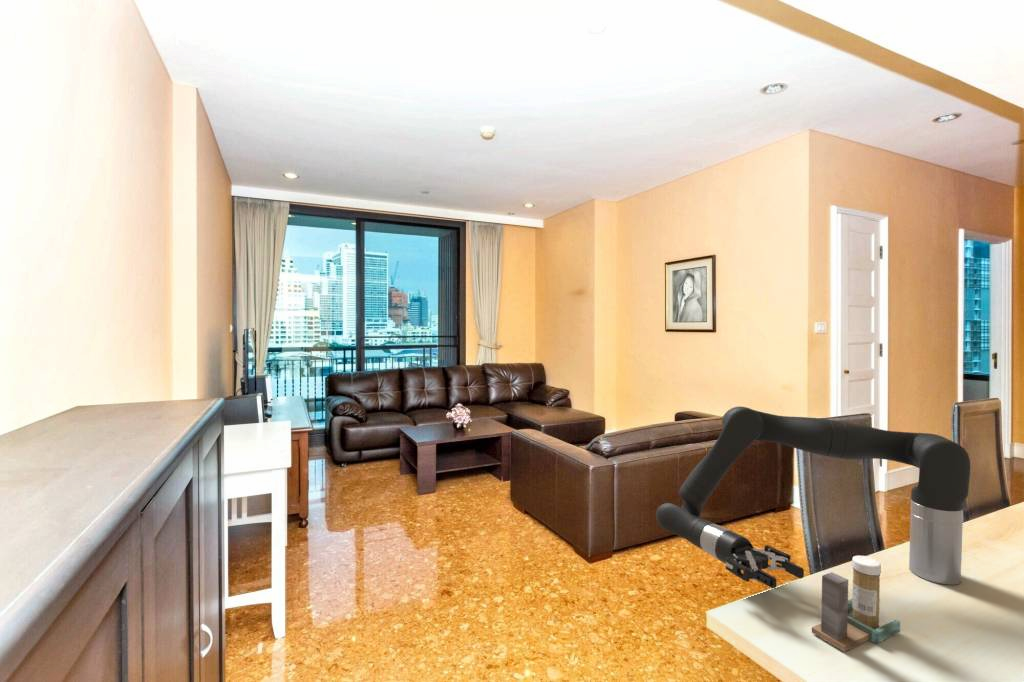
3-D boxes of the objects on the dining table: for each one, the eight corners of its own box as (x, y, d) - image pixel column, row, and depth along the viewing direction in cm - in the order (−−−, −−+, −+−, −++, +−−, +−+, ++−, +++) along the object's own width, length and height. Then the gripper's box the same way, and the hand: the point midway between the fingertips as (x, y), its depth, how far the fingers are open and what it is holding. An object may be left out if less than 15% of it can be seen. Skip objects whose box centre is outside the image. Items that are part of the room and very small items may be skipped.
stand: (852, 607, 100) (853, 552, 99) (899, 631, 92) (901, 571, 91) (805, 628, 93) (806, 569, 93) (851, 656, 86) (853, 592, 85)
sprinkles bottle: (883, 627, 94) (885, 561, 93) (873, 636, 91) (875, 568, 91) (856, 615, 98) (858, 552, 97) (846, 623, 95) (848, 558, 95)
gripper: (703, 536, 110) (766, 569, 95) (746, 524, 116) (811, 553, 101) (703, 567, 110) (765, 605, 96) (746, 554, 116) (811, 587, 101)
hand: (789, 578), depth 98 cm, fingers open, 8 cm apart
